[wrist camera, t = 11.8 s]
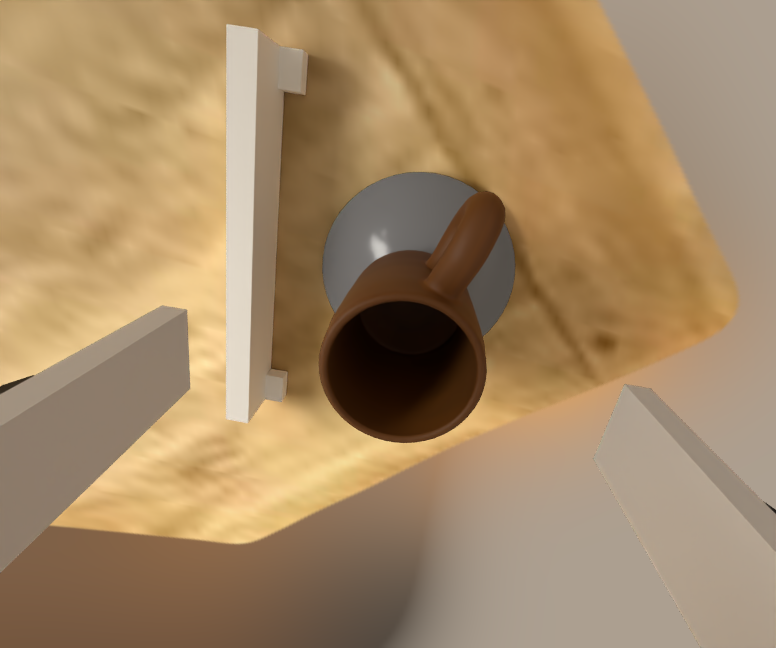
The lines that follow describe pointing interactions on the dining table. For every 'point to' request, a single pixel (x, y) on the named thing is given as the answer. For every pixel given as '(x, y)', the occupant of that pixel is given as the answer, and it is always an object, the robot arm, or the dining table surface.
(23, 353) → the dining table surface
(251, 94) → the rail
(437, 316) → the mug
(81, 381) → the robot arm
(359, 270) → the disc
